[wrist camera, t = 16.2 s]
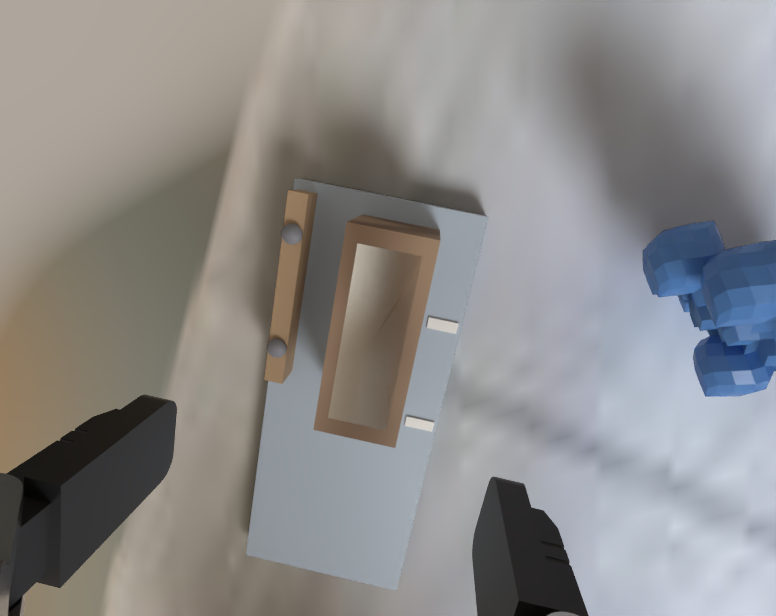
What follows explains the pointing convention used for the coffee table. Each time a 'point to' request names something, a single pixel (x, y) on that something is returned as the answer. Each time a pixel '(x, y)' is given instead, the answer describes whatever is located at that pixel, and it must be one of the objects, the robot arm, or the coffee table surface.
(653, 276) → the grapes
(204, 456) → the coffee table surface
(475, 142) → the coffee table surface
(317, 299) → the wall panel
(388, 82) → the coffee table surface
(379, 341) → the walnut frame
